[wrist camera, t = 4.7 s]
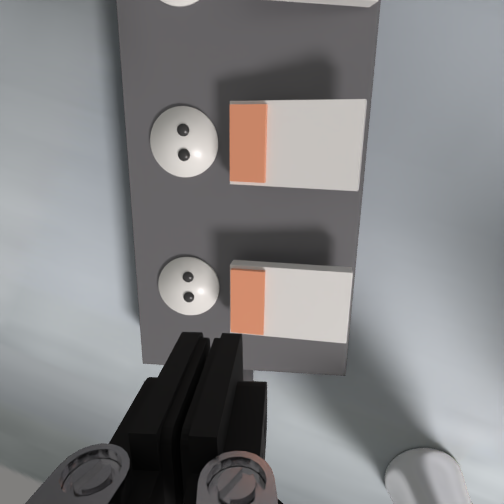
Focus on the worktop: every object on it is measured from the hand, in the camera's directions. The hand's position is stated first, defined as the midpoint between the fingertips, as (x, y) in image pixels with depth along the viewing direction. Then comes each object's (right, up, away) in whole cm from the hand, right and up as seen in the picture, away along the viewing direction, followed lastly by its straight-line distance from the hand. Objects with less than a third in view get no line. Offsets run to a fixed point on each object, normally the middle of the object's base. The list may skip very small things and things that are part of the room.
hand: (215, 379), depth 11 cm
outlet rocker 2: (+3, +1, +13) cm, 13 cm away
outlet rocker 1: (+3, +9, +10) cm, 14 cm away
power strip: (+1, +7, +16) cm, 17 cm away
